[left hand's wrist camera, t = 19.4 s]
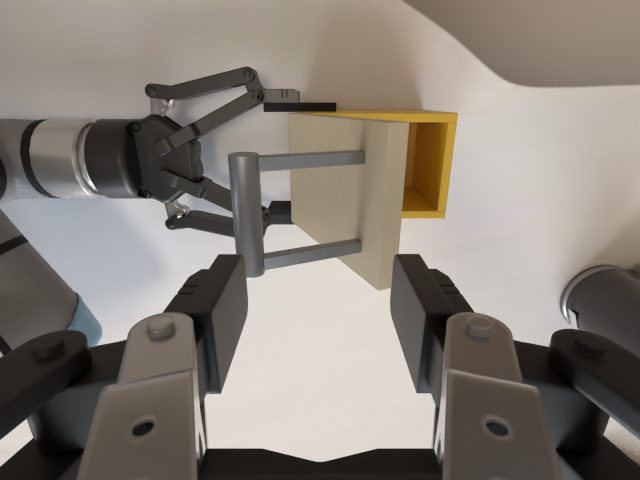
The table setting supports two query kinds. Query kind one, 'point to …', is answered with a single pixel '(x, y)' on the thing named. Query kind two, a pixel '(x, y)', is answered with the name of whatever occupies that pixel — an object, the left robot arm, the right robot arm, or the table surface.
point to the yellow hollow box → (420, 157)
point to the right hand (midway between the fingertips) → (334, 159)
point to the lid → (329, 194)
